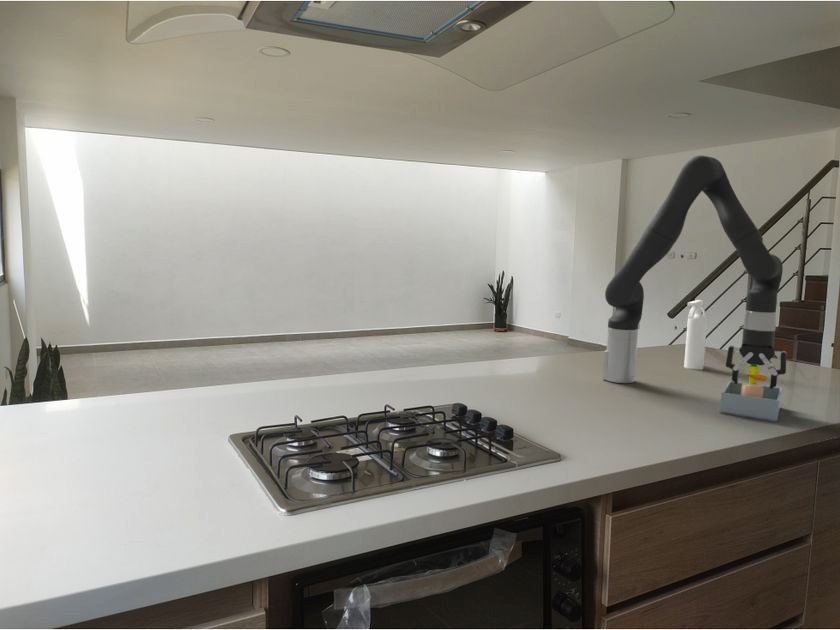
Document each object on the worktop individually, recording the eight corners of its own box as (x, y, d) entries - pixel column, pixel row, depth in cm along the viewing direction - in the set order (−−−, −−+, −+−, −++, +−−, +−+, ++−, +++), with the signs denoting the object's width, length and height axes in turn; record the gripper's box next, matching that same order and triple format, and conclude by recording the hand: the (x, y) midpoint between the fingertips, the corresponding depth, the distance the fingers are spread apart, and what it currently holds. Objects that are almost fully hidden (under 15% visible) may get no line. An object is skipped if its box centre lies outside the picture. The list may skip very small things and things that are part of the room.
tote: (719, 412, 155) (721, 392, 154) (727, 399, 169) (729, 381, 168) (777, 422, 148) (779, 400, 147) (780, 407, 162) (781, 388, 161)
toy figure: (768, 408, 159) (772, 364, 158) (758, 409, 158) (762, 365, 156) (747, 401, 165) (750, 360, 164) (737, 402, 164) (741, 360, 163)
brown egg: (741, 412, 153) (744, 386, 152) (736, 407, 158) (740, 382, 157) (762, 415, 152) (766, 388, 151) (757, 410, 157) (760, 384, 156)
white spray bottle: (713, 367, 216) (716, 299, 213) (695, 371, 209) (698, 301, 206) (695, 364, 221) (698, 298, 218) (677, 368, 214) (680, 300, 211)
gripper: (728, 326, 160) (723, 384, 162) (789, 332, 152) (783, 392, 154) (731, 323, 166) (726, 379, 168) (790, 328, 158) (784, 387, 160)
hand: (753, 385), depth 161 cm, fingers open, 8 cm apart
